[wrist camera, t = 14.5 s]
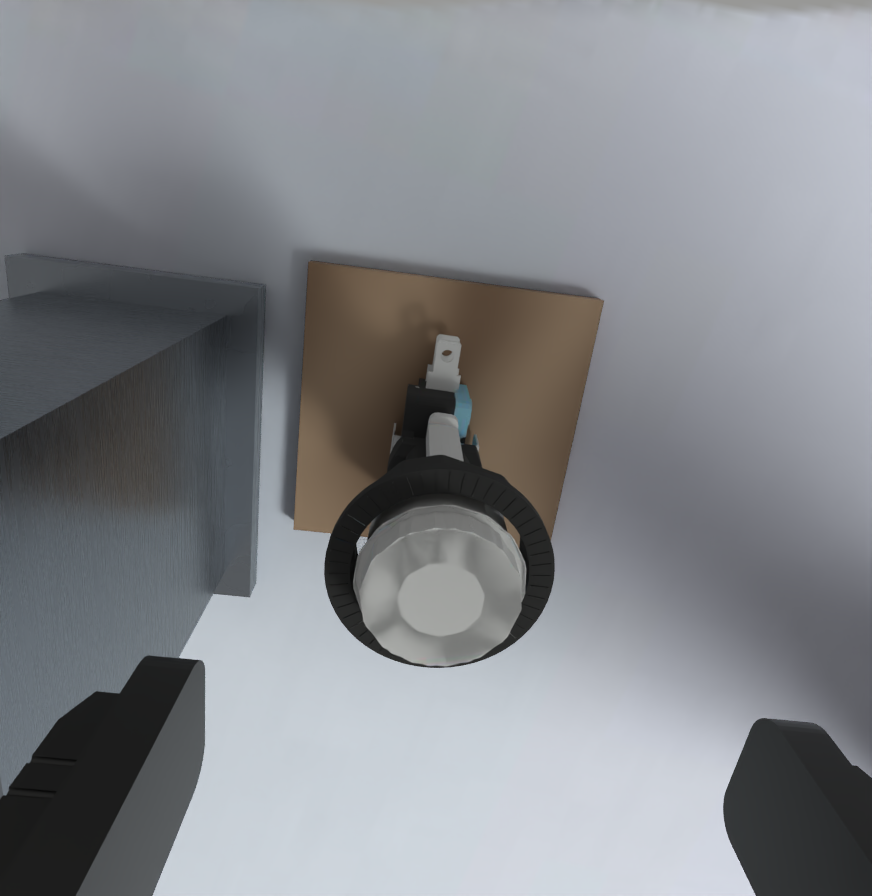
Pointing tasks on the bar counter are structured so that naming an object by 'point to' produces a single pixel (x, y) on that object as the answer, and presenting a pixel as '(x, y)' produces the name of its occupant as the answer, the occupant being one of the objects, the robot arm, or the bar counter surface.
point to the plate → (406, 360)
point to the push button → (438, 540)
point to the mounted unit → (118, 476)
